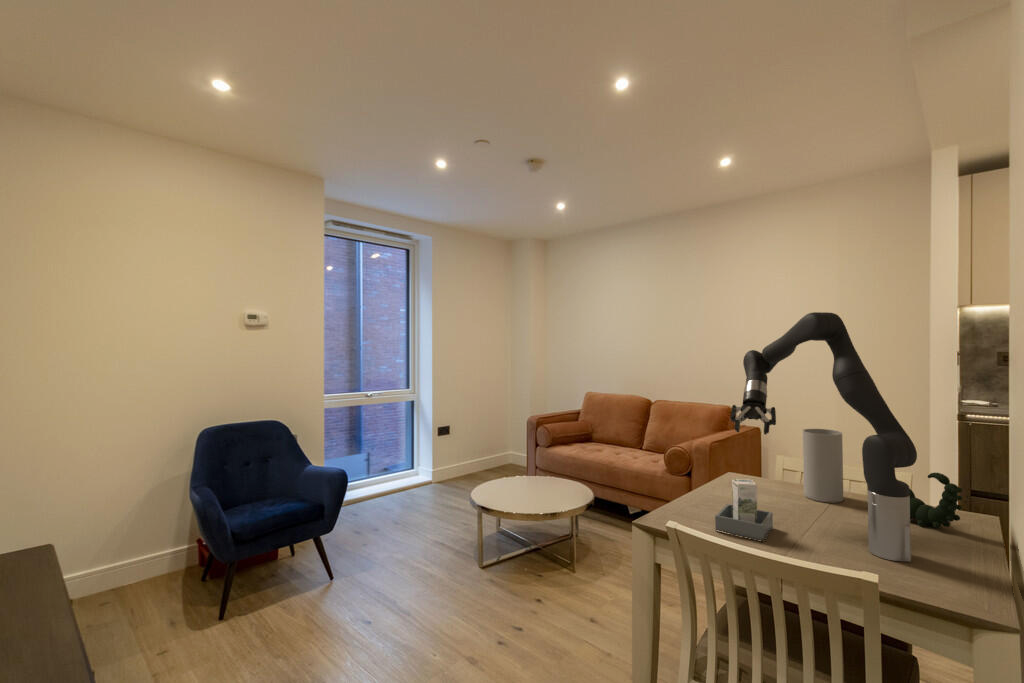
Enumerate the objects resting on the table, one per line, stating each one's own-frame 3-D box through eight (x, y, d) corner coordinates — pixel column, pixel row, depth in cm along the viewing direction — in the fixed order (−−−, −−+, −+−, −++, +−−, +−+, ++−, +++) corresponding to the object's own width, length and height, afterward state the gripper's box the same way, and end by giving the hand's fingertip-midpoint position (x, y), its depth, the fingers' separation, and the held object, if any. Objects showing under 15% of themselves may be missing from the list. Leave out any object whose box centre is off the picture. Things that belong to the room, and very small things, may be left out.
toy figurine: (965, 538, 146) (882, 504, 170) (971, 478, 145) (886, 452, 169) (943, 542, 144) (862, 507, 168) (949, 481, 142) (866, 454, 166)
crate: (772, 528, 152) (772, 512, 152) (763, 542, 142) (763, 525, 142) (727, 518, 161) (727, 503, 161) (715, 531, 150) (715, 515, 150)
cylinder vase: (796, 494, 184) (794, 430, 184) (820, 491, 188) (819, 427, 188) (826, 505, 172) (824, 435, 172) (851, 501, 176) (850, 433, 176)
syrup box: (751, 523, 154) (750, 478, 154) (757, 530, 148) (756, 483, 148) (732, 522, 155) (731, 478, 155) (738, 529, 149) (737, 483, 149)
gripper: (732, 388, 175) (727, 423, 166) (776, 389, 167) (773, 427, 158) (735, 400, 180) (730, 436, 170) (778, 402, 172) (775, 440, 162)
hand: (751, 432), depth 164 cm, fingers open, 8 cm apart
